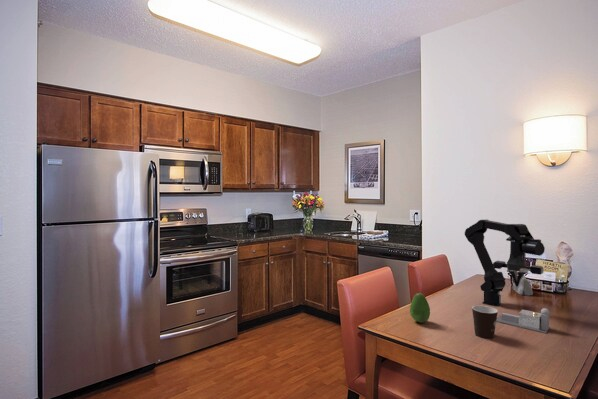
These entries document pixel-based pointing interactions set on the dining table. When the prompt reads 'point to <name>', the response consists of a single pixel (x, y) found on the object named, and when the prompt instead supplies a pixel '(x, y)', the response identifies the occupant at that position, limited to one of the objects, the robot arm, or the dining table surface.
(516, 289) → the mineral rock
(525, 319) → the lock block
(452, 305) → the dining table surface
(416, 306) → the fruit
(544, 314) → the hitch plate
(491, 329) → the coffee mug
